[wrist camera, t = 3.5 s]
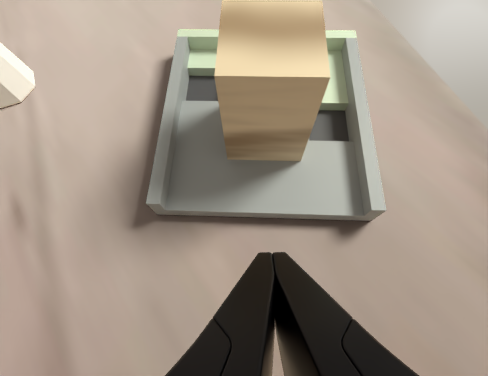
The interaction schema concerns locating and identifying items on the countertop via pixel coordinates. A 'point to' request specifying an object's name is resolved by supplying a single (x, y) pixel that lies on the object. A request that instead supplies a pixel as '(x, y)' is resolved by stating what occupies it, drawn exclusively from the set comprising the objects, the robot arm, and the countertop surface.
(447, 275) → the countertop surface
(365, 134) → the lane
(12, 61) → the salt shaker
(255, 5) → the block
